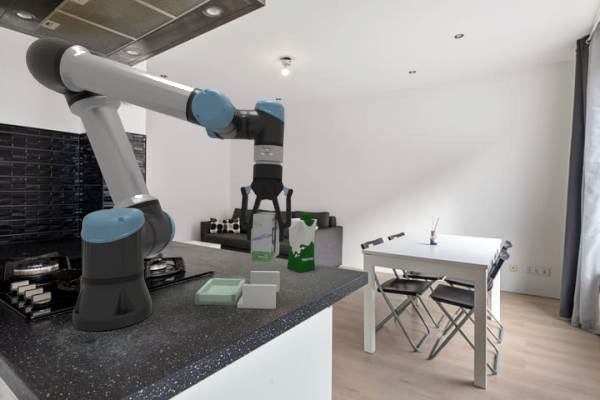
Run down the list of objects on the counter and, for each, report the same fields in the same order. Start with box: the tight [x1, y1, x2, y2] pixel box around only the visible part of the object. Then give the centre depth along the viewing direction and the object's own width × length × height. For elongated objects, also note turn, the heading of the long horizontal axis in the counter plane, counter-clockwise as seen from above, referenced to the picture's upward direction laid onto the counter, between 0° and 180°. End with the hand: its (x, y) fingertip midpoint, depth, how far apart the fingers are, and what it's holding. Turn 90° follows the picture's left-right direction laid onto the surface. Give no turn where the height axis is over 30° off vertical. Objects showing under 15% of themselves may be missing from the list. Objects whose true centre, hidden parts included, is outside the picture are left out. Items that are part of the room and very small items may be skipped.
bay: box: [236, 270, 281, 310], centre depth 83 cm, size 9×13×6 cm
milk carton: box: [286, 212, 318, 274], centre depth 114 cm, size 9×9×20 cm
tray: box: [194, 277, 246, 306], centre depth 85 cm, size 10×14×2 cm
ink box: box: [250, 211, 279, 263], centre depth 83 cm, size 9×5×12 cm, turn 170°
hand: (265, 253), depth 83 cm, fingers closed on ink box, 6 cm apart
